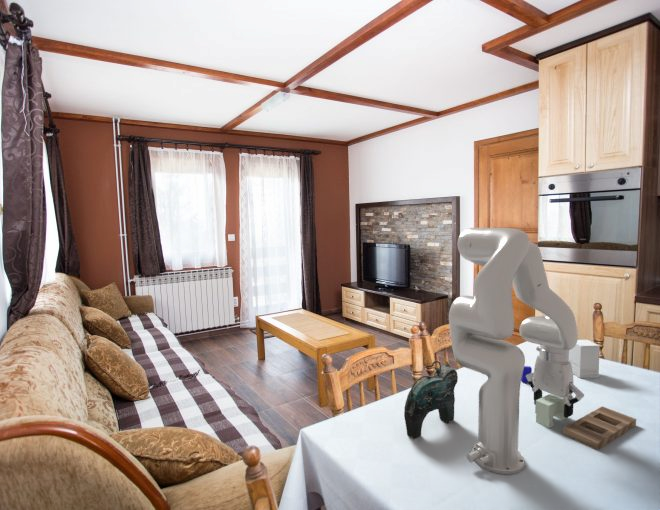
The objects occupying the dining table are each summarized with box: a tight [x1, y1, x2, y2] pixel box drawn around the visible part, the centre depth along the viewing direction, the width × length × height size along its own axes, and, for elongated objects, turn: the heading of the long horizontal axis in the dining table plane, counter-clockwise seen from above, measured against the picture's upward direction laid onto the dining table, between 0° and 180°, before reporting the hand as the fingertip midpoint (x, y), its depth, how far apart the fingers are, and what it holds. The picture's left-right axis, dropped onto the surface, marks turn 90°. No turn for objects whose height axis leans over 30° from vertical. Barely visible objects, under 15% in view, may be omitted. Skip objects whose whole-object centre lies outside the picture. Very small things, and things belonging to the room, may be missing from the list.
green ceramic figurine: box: [403, 360, 459, 440], centre depth 115 cm, size 20×6×20 cm, turn 123°
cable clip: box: [521, 365, 533, 384], centre depth 149 cm, size 12×4×6 cm, turn 170°
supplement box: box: [569, 339, 601, 379], centre depth 149 cm, size 7×7×13 cm
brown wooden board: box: [562, 406, 637, 451], centre depth 112 cm, size 22×9×2 cm, turn 120°
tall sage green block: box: [534, 393, 568, 429], centre depth 118 cm, size 11×4×7 cm, turn 120°
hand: (552, 409), depth 118 cm, fingers open, 8 cm apart
